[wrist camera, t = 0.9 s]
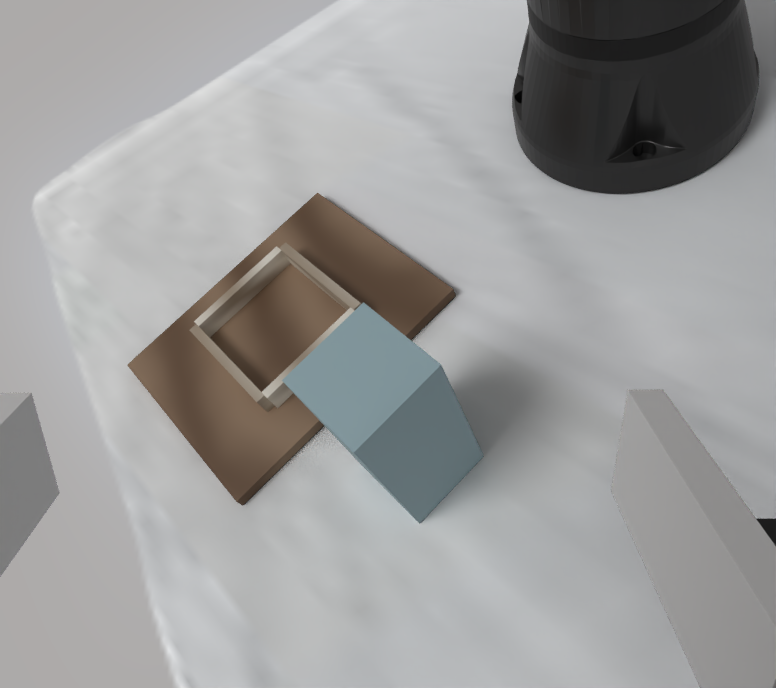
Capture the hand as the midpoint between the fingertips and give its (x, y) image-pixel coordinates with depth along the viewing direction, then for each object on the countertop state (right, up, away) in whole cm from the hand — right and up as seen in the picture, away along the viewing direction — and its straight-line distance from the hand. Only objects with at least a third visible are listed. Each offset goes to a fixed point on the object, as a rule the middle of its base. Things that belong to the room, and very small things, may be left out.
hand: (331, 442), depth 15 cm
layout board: (-5, +3, +29) cm, 30 cm away
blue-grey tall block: (+3, -4, +22) cm, 23 cm away
